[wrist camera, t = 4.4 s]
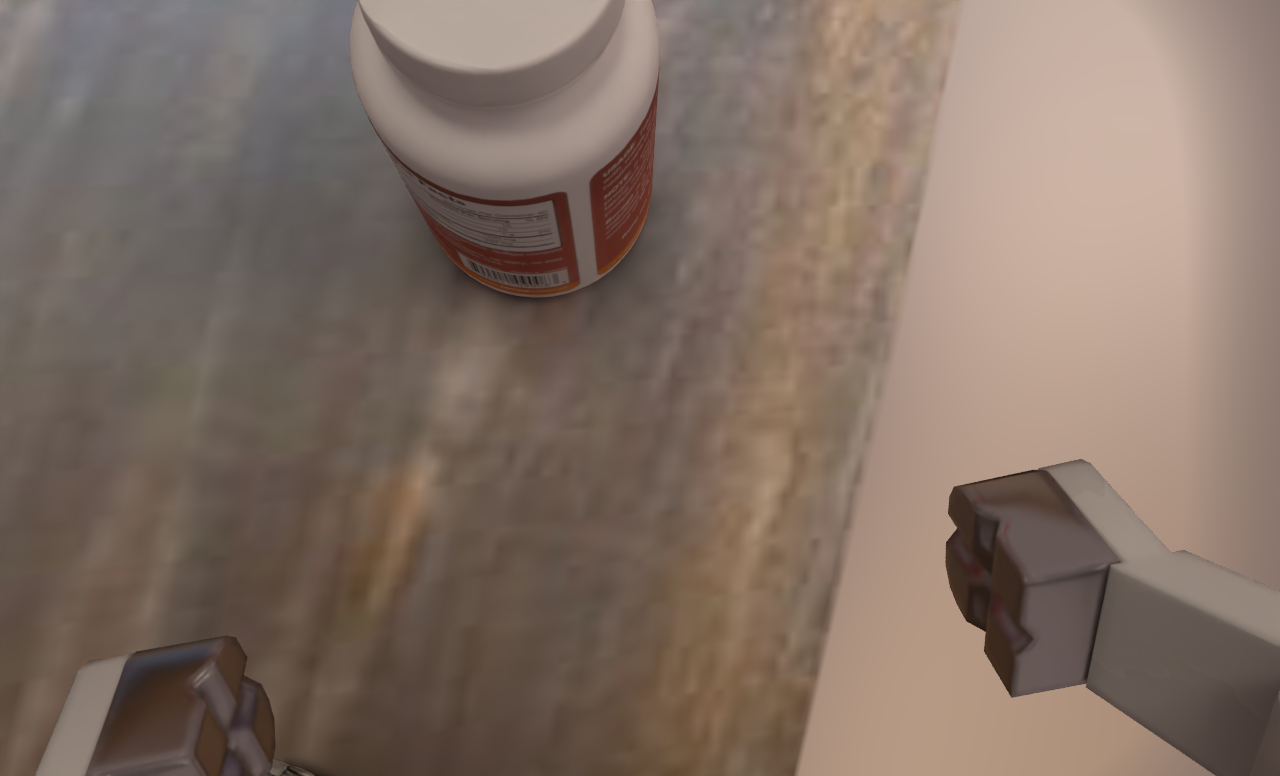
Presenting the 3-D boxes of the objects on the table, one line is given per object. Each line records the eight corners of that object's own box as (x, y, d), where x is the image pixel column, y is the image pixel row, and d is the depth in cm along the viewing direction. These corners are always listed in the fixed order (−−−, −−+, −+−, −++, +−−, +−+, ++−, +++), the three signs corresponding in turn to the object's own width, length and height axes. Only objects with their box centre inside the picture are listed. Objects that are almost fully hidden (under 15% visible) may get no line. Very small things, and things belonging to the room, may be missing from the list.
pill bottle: (583, 57, 28) (561, -276, 17) (691, 236, 27) (741, 5, 16) (387, 155, 27) (235, -126, 16) (491, 343, 26) (402, 177, 16)
